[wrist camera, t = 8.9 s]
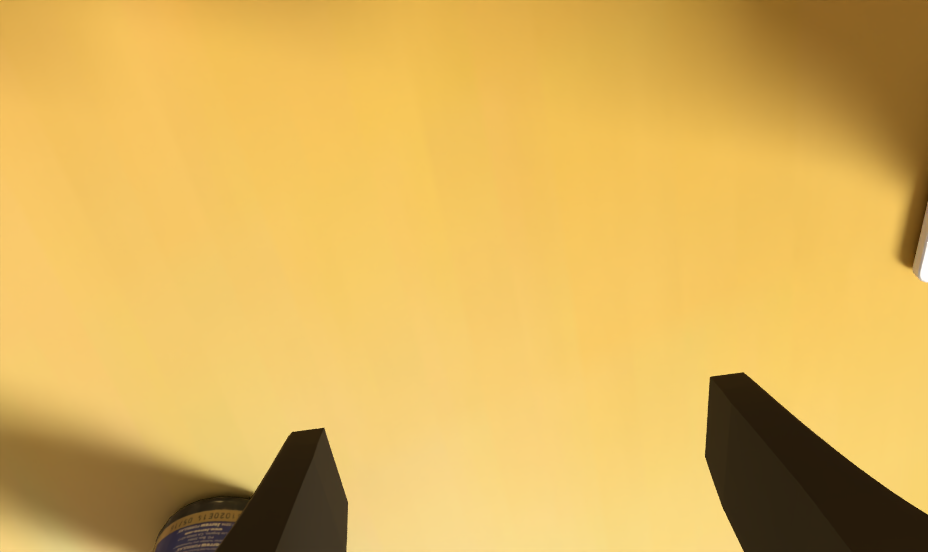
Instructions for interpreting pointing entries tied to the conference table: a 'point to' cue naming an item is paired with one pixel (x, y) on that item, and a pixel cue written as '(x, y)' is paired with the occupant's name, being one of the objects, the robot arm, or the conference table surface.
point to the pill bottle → (200, 525)
